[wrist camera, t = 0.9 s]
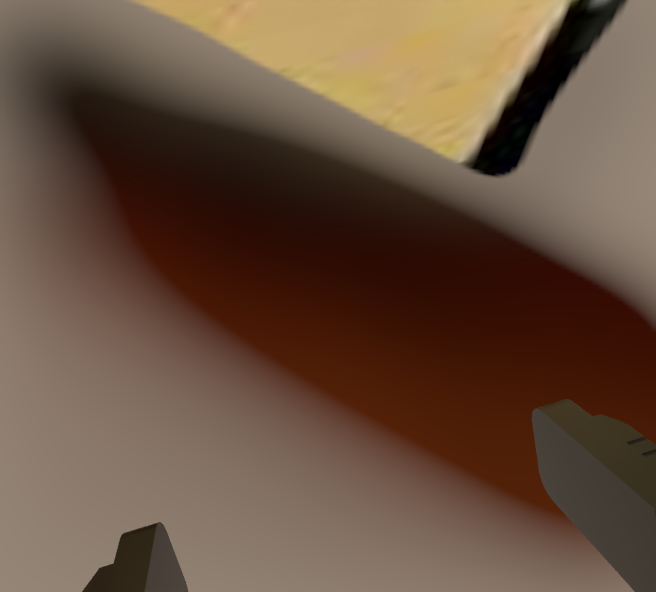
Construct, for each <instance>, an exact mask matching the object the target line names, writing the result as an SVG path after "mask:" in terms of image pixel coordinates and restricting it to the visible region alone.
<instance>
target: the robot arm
mask: <svg viewBox="0 0 656 592" xmlns="http://www.w3.org/2000/svg"><path fill="white" fill-rule="evenodd" d="M532 423H533V430H534V437H535V444H536V452H537V459H538V467H539V472H540V476H541V480H542V482H543V485H544V486H545V489H546V491H547V493H548V494H549V496H550V497H551V499H552V500H553V501H554V502H555V503H556V505H558V507H559V508H560V509H561V510H562V511H563V512H564V513H565V514H566V516H567V517H568V518H569V519H570V520H571V521H572V522H573V523H574V525H575V526H576V527H577V528H578V529H579V530H580V531H581V532H582V533H583V534H584V536H585V537H587V539H588V540H589V541H590V542H591V543H592V544H593V546H594V547H595V548H596V549H597V550H598V551H599V552H600V553H601V554H602V556H603V557H604V558H605V559H606V560H607V561H608V562H609V563H610V564H611V565H612V567H613V568H614V569H615V570H616V571H617V572H618V573H619V574H620V575H621V577H622V578H623V579H624V580H625V581H626V582H627V583H628V584H629V585H630V587H631V588H632V589H633V590H634V591H635V592H656V445H655V444H654V443H652V442H651V441H650V440H645V438H644V436H643V435H641V434H640V433H638V432H637V431H636V430H634V429H633V428H631V427H630V426H629V425H627V424H626V423H623V422H621V421H618V420H615V419H612V418H609V417H606V416H603V415H601V414H600V415H597V416H594V417H592V416H591V415H590V414H588V413H587V412H586V411H584V410H583V409H581V408H580V407H579V406H578V405H576V404H575V403H574V402H572V401H571V400H563V401H560V402H557V403H553V404H550V405H547V406H543V407H540V408H537V409H534V410H533V413H532ZM82 592H188V589H187V585H186V582H185V579H184V576H183V573H182V571H181V568H180V566H179V563H178V560H177V558H176V555H175V552H174V550H173V547H172V545H171V542H170V539H169V537H168V534H167V531H166V529H165V527H164V525H163V524H162V523H160V522H159V523H155V524H152V525H149V526H145V527H142V528H139V529H136V530H132V531H129V532H126V533H123V534H122V535H121V538H120V541H119V545H118V549H117V553H116V557H115V560H114V564H111V565H108V566H104V567H102V568H99V569H98V571H97V572H96V574H95V575H94V576H93V578H92V579H91V581H90V582H89V583H88V585H87V586H86V587H85V589H84V590H83V591H82Z"/></svg>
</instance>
